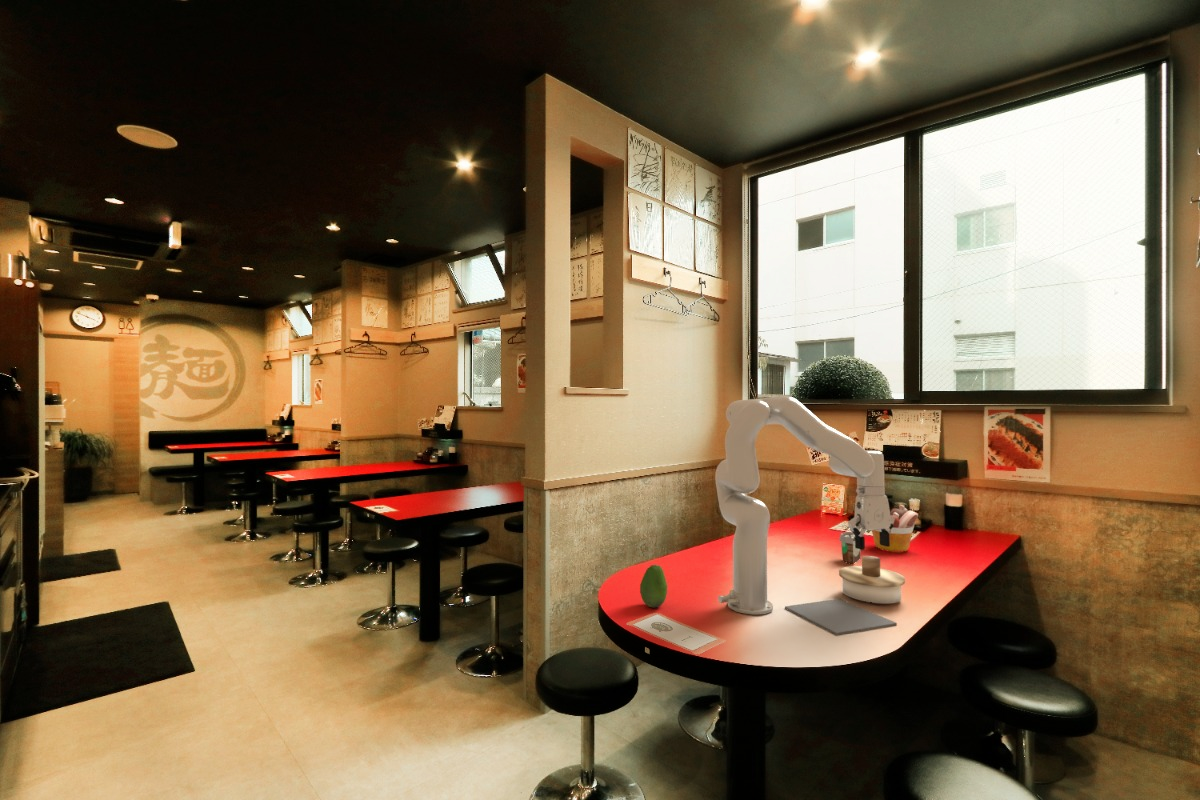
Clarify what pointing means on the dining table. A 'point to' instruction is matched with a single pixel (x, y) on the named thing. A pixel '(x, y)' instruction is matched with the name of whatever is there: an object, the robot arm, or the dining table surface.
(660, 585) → the avocado
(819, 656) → the dining table surface
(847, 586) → the ceramic bowl
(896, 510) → the bucket of meat
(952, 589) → the dining table surface
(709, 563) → the dining table surface
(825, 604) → the rubber mat
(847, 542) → the food container
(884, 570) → the bamboo lid
